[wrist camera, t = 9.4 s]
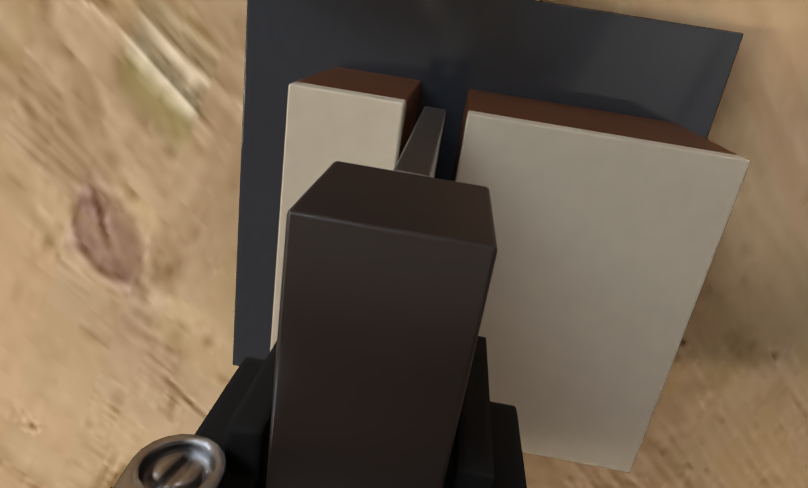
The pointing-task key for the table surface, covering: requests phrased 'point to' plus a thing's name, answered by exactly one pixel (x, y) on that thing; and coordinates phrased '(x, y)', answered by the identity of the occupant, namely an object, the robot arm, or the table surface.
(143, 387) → the table surface
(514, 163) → the cake
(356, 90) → the cake slice
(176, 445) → the robot arm
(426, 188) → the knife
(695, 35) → the cake board
